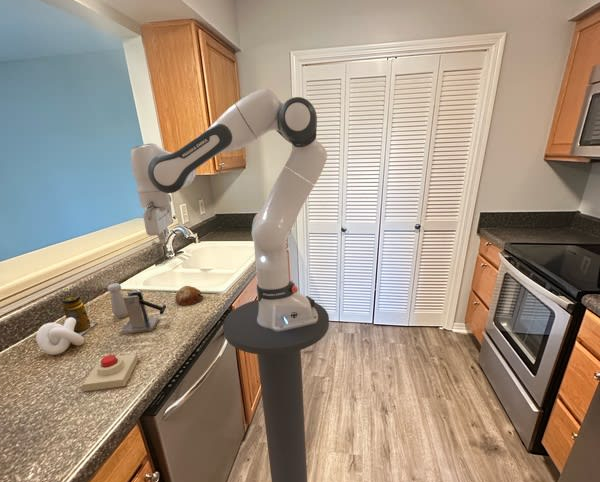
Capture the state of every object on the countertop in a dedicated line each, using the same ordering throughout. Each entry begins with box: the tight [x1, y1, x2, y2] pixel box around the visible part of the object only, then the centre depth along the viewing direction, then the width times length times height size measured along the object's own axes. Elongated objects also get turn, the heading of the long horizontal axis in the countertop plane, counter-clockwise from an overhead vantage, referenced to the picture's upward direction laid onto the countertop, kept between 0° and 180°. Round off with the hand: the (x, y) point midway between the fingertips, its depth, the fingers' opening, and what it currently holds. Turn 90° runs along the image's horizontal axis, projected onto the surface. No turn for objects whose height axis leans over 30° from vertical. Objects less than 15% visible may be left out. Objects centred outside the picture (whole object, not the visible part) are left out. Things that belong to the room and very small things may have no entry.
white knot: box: [35, 317, 85, 356], centre depth 103 cm, size 11×12×9 cm
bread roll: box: [175, 285, 204, 306], centre depth 133 cm, size 10×10×8 cm
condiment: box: [61, 295, 97, 336], centre depth 113 cm, size 7×8×12 cm
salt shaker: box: [106, 282, 129, 319], centre depth 121 cm, size 6×6×13 cm
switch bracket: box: [121, 290, 159, 335], centre depth 113 cm, size 10×8×13 cm
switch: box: [130, 294, 167, 315], centre depth 112 cm, size 12×5×2 cm, turn 99°
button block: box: [81, 353, 139, 392], centre depth 90 cm, size 10×12×4 cm
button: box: [100, 354, 117, 368], centre depth 89 cm, size 4×4×2 cm
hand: (164, 242), depth 108 cm, fingers closed
